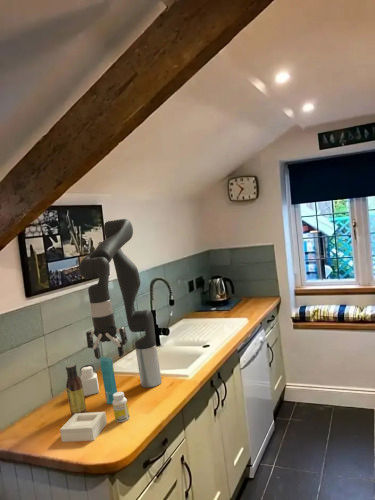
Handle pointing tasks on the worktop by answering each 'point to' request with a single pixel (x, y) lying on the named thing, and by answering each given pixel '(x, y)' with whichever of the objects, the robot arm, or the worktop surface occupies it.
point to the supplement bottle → (120, 407)
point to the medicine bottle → (89, 380)
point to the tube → (108, 378)
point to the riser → (83, 427)
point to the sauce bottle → (75, 391)
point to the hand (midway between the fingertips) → (110, 357)
